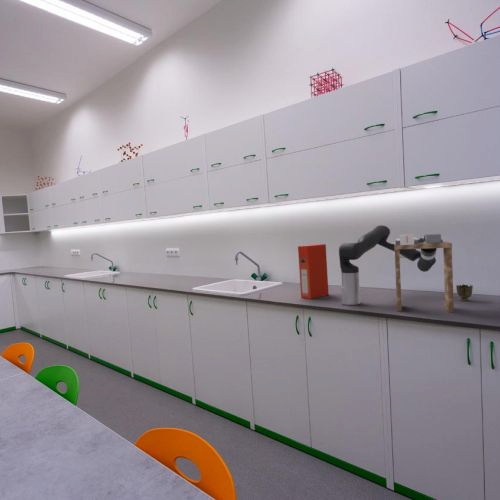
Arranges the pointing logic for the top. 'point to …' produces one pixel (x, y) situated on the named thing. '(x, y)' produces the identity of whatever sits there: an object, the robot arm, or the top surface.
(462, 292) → the cup
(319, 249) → the file binder
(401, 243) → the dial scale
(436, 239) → the block
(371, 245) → the robot arm
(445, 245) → the oak shelf
